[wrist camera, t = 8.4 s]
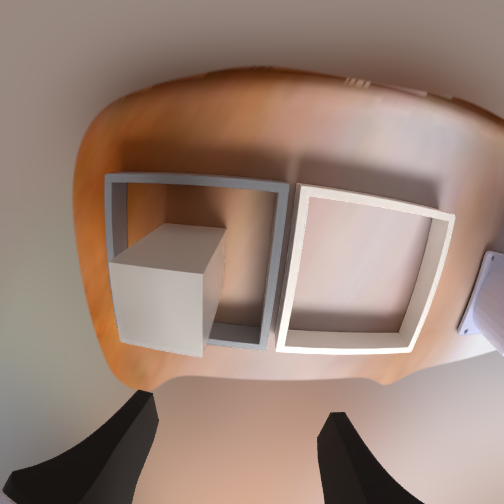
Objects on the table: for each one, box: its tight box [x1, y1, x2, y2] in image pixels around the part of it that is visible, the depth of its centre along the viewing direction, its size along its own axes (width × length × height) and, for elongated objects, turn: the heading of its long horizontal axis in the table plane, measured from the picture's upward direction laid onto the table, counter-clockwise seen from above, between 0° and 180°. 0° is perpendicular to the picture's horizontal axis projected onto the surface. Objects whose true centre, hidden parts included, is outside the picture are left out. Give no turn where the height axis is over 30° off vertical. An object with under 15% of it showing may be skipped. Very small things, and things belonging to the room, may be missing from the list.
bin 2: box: [275, 183, 456, 354], centre depth 16 cm, size 10×10×2 cm
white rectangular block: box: [109, 223, 227, 358], centre depth 14 cm, size 4×4×7 cm
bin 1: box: [105, 172, 290, 351], centre depth 16 cm, size 10×10×2 cm
